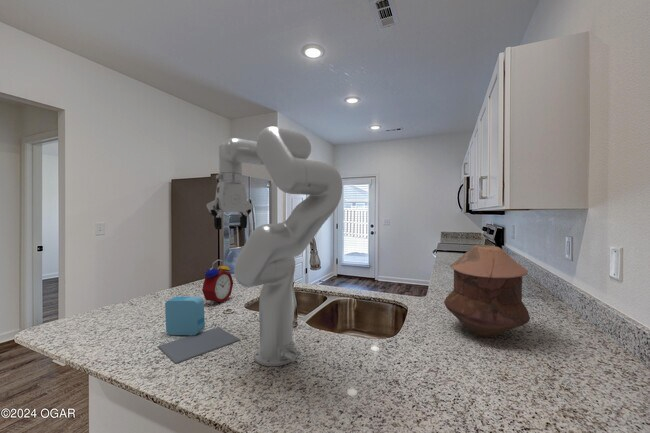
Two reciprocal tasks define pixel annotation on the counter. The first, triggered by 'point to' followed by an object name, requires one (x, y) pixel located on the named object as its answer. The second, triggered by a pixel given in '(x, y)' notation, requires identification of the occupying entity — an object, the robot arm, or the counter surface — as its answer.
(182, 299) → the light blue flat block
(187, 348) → the rubber mat
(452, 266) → the pottery vessel
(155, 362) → the counter surface
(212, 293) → the alarm clock
